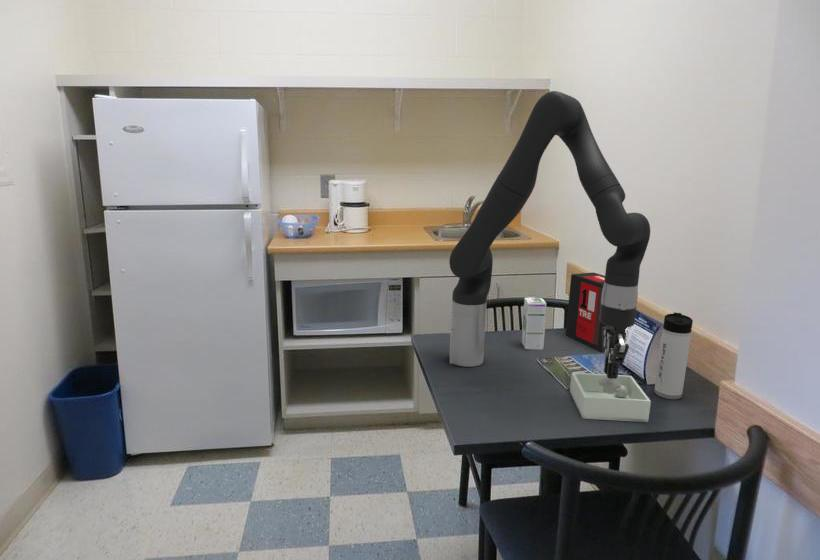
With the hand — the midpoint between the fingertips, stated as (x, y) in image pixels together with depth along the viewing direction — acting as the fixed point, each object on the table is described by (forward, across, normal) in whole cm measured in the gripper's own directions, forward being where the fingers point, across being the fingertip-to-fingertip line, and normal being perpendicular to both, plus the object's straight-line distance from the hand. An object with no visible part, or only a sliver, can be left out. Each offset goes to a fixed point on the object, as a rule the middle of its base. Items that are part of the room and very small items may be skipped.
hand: (610, 375), depth 133 cm
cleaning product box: (+8, -46, +8) cm, 47 cm away
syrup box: (+8, -39, -12) cm, 41 cm away
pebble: (+7, -4, +4) cm, 9 cm away
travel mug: (+8, -9, +17) cm, 21 cm away
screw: (+4, 0, 0) cm, 4 cm away
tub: (+8, 0, 0) cm, 8 cm away
